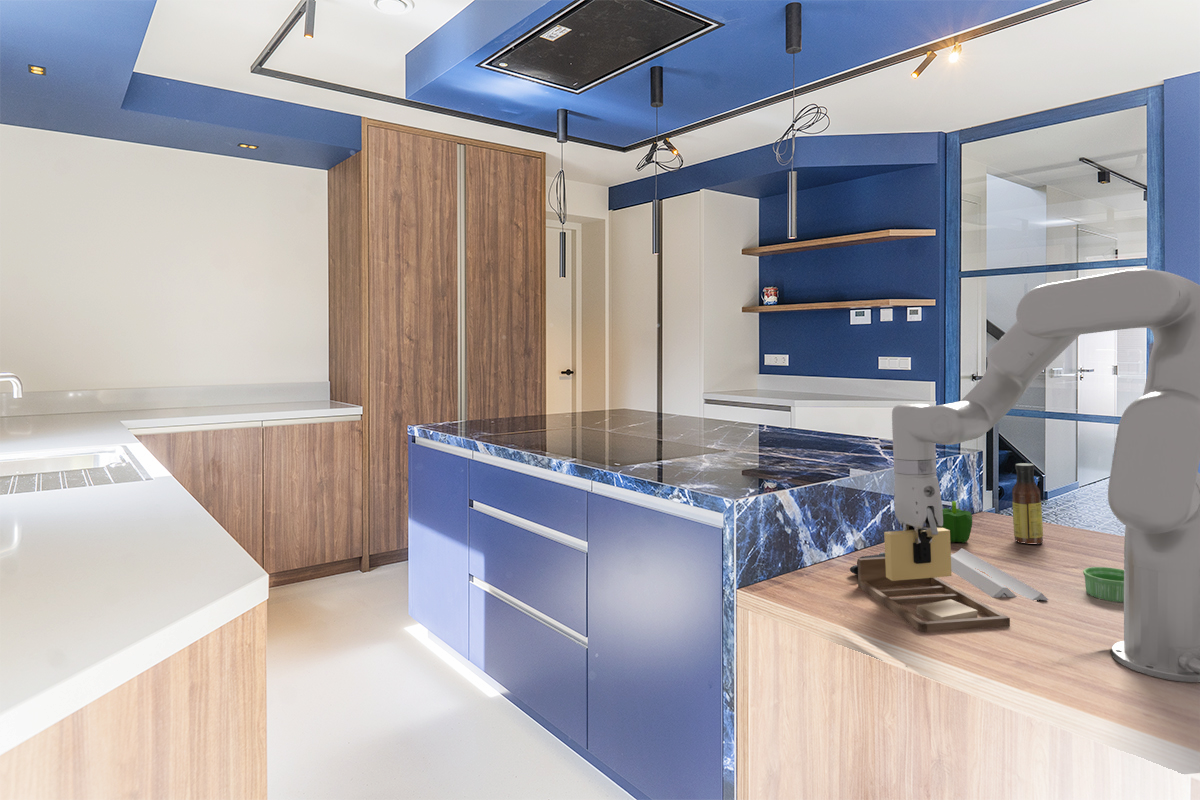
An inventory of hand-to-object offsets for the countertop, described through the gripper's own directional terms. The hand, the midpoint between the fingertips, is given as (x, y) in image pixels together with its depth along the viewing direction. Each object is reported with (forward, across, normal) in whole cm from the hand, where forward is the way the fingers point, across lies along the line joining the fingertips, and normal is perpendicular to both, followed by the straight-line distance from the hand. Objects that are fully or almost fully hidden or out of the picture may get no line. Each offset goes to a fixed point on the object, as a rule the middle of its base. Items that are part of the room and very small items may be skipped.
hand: (918, 559), depth 132 cm
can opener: (+9, +17, -3) cm, 19 cm away
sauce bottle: (+9, +34, -48) cm, 59 cm away
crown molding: (+10, +13, -20) cm, 25 cm away
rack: (+9, -3, 0) cm, 9 cm away
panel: (+3, 0, 0) cm, 3 cm away
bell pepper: (+9, +40, -32) cm, 51 cm away
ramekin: (+9, -2, -38) cm, 39 cm away
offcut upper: (+8, -10, 0) cm, 12 cm away
